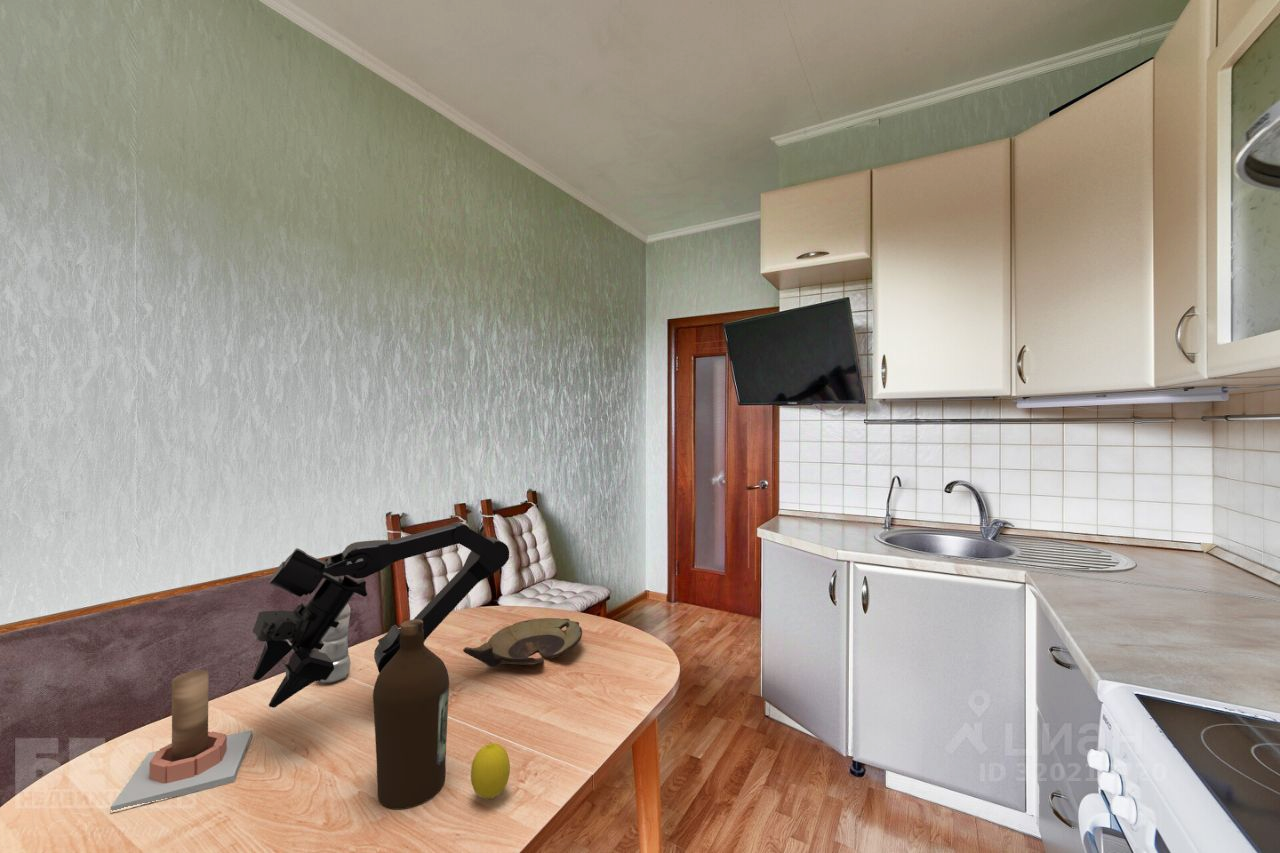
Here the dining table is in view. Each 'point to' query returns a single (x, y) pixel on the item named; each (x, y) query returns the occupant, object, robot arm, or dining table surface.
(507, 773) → the lemon
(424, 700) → the olive oil
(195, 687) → the walnut peg
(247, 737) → the band dock
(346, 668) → the plastic bottle
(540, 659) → the oil lamp
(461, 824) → the dining table surface
